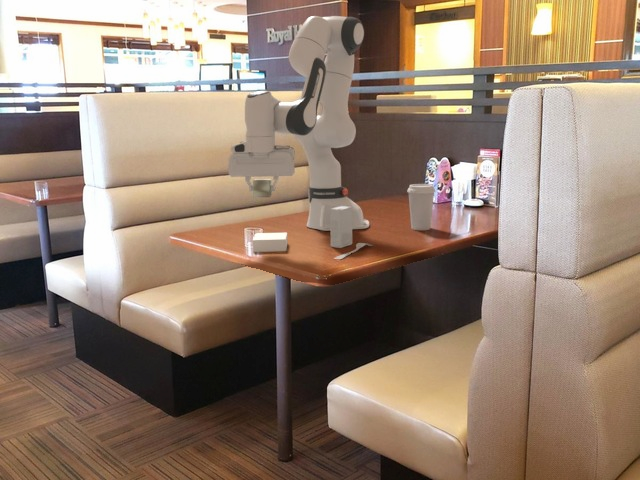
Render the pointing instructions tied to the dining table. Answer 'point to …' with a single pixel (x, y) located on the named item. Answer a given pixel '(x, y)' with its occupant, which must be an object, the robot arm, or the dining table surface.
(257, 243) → the painted block
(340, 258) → the fork
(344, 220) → the skincare box
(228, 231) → the dining table surface
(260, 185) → the sage cube
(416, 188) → the coffee cup
